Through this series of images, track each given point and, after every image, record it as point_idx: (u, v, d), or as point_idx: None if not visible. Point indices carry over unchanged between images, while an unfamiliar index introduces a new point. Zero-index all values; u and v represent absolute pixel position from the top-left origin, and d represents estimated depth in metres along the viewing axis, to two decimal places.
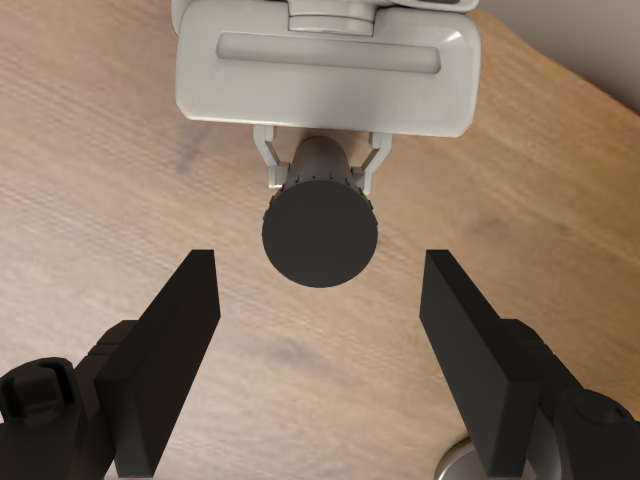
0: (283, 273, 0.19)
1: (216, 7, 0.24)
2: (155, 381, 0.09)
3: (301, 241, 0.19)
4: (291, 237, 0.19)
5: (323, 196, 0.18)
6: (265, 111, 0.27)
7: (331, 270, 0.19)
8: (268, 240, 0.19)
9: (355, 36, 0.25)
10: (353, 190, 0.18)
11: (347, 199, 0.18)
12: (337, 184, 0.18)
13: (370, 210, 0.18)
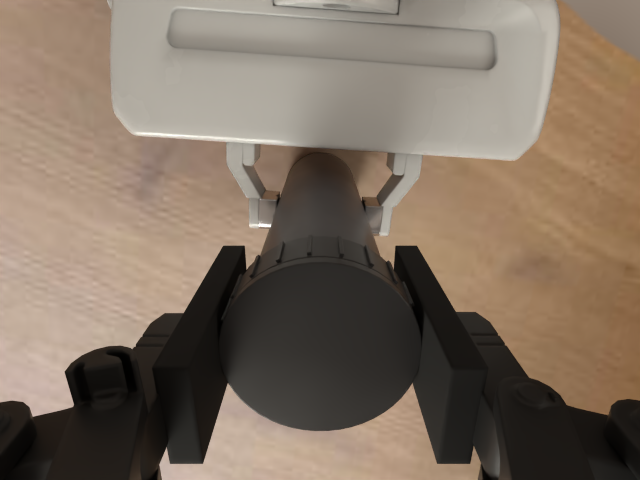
0: (257, 410, 0.11)
1: None
2: (204, 371, 0.09)
3: (287, 361, 0.11)
4: (269, 356, 0.11)
5: (326, 290, 0.10)
6: (241, 124, 0.18)
7: (340, 405, 0.11)
8: (229, 360, 0.11)
9: (372, 14, 0.17)
10: (381, 279, 0.10)
11: (370, 295, 0.10)
12: (352, 270, 0.10)
13: (411, 312, 0.10)
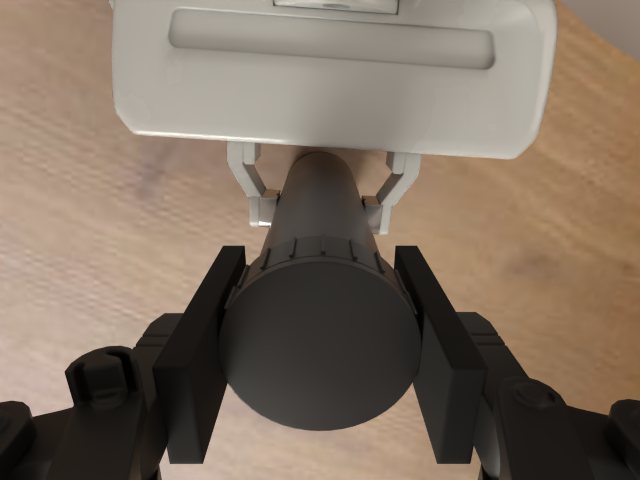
0: (416, 360, 0.11)
1: None
2: (204, 371, 0.09)
3: (346, 370, 0.11)
4: (352, 385, 0.11)
5: (261, 388, 0.11)
6: (242, 123, 0.19)
7: (359, 304, 0.10)
8: (379, 405, 0.11)
9: (372, 14, 0.17)
10: (220, 360, 0.11)
11: (237, 360, 0.11)
12: (231, 384, 0.11)
13: (223, 323, 0.10)
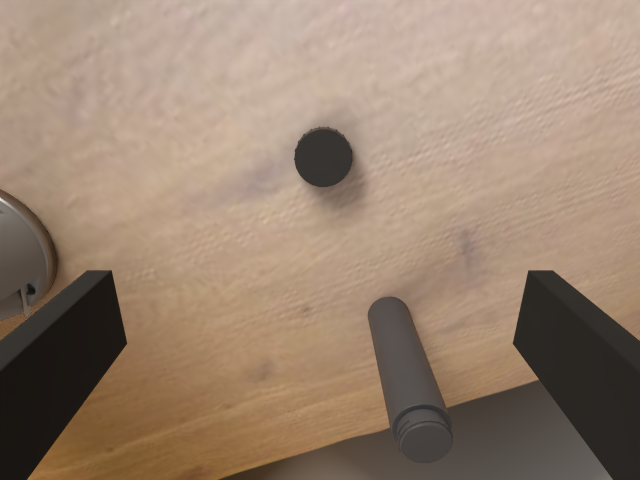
0: (306, 136, 0.37)
1: None
2: None
3: (322, 149, 0.37)
4: (325, 144, 0.37)
5: (343, 164, 0.38)
6: None
7: (304, 161, 0.38)
8: (326, 132, 0.37)
9: None
10: (342, 178, 0.38)
11: (339, 175, 0.38)
12: (347, 171, 0.38)
13: (331, 184, 0.39)
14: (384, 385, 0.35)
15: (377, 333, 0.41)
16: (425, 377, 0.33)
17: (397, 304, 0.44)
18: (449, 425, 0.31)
